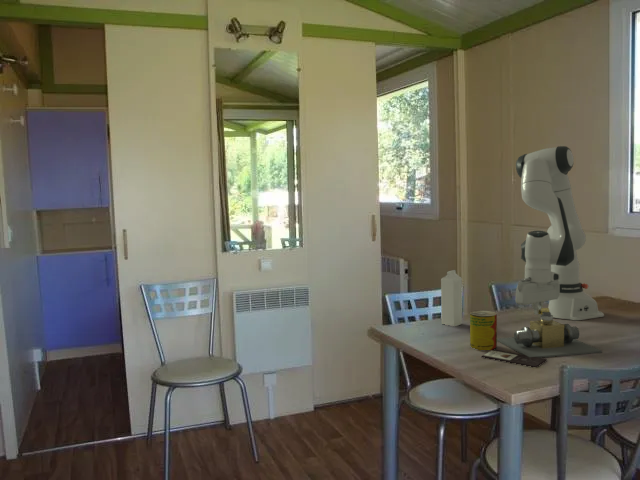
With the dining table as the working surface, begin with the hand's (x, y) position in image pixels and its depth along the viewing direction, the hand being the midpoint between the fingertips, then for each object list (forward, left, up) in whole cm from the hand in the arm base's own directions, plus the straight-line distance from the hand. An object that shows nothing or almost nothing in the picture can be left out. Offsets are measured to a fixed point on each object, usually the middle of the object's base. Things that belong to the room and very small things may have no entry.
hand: (537, 314), depth 209 cm
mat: (+2, +9, -9) cm, 13 cm away
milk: (+21, -29, -9) cm, 37 cm away
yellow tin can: (+23, +4, -9) cm, 25 cm away
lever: (-1, +4, -1) cm, 4 cm away
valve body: (+2, +9, -9) cm, 13 cm away
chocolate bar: (+19, +19, -10) cm, 29 cm away
